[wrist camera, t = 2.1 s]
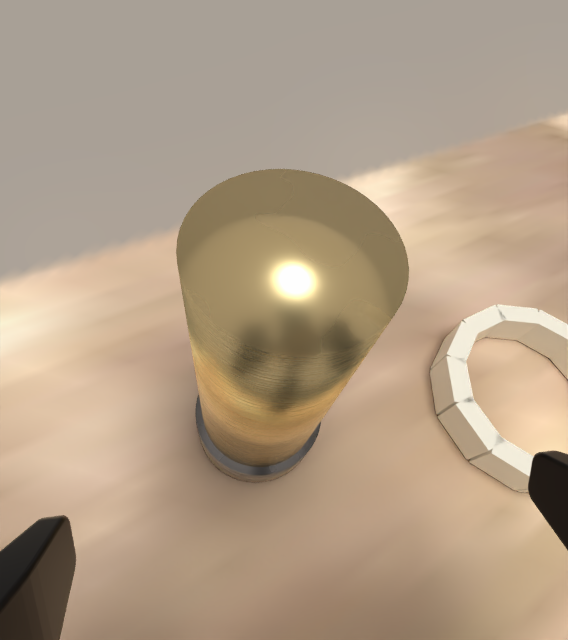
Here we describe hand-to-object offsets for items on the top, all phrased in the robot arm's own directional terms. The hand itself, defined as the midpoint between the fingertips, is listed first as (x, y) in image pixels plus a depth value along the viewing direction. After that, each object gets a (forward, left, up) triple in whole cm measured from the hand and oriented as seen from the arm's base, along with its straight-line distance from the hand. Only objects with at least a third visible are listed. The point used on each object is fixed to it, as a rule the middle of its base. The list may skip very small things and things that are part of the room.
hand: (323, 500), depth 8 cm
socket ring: (-8, -13, -11) cm, 19 cm away
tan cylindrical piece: (+3, -4, -11) cm, 13 cm away
